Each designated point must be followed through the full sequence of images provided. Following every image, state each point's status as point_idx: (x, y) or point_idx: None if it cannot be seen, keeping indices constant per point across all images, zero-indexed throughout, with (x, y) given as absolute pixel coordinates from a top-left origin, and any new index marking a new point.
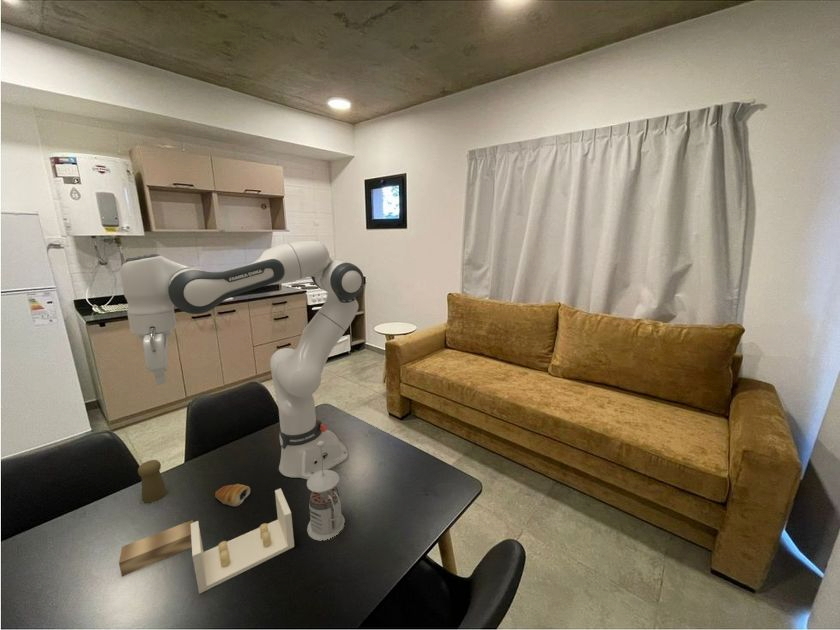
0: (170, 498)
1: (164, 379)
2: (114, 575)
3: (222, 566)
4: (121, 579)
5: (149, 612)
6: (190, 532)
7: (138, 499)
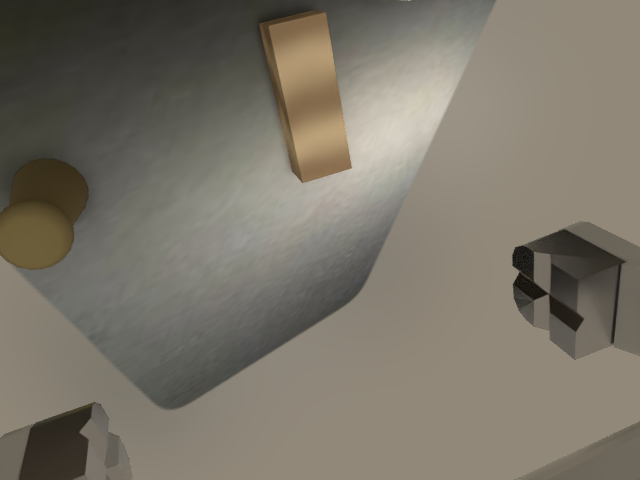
0: (77, 138)
1: (615, 241)
2: None
3: None
4: None
5: (447, 69)
6: (319, 21)
7: None
